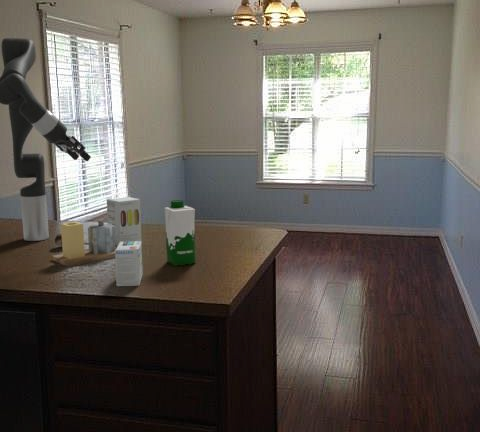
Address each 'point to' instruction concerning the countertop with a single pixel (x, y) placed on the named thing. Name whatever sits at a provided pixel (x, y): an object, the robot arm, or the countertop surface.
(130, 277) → the light bulb box
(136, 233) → the supplement box
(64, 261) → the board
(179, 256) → the milk carton
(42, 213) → the robot arm
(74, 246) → the yellow rectangular block
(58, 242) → the mushroom
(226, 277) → the countertop surface
